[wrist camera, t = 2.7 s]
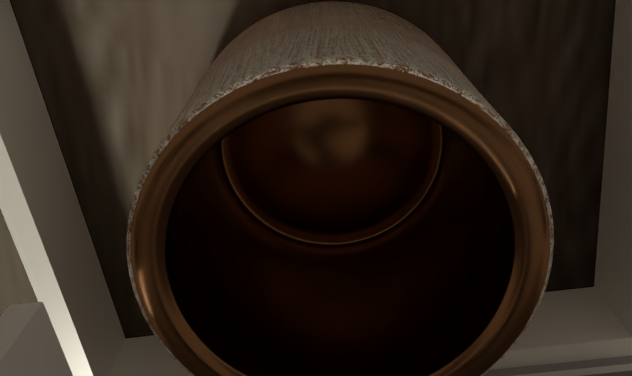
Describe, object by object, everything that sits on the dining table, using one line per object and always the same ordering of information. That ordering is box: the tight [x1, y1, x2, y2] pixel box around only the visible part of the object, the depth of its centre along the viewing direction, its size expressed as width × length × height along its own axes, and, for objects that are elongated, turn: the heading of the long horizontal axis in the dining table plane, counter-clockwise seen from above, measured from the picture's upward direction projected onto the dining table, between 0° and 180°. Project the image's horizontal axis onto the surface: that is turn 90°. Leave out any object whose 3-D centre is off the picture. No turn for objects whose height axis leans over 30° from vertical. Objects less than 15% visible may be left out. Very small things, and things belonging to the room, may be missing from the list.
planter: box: [126, 1, 554, 376], centre depth 19 cm, size 11×11×10 cm
